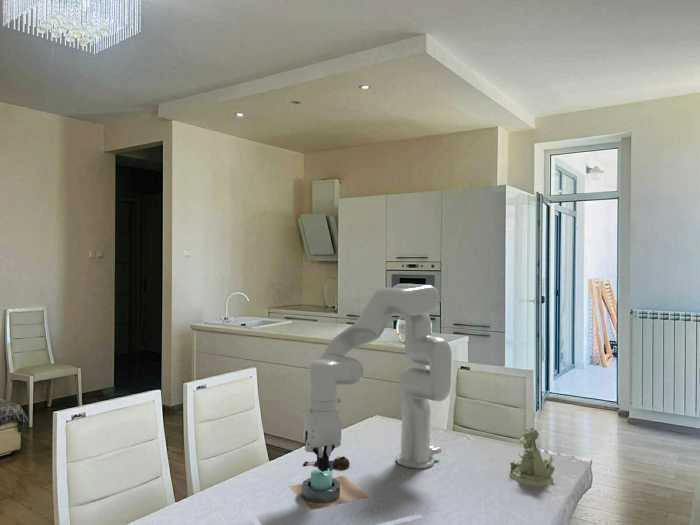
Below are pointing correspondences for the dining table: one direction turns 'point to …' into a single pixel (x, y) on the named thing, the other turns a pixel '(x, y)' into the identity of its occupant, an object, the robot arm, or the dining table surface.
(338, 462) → the toy
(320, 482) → the teal rounded tetrahedron
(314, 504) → the board
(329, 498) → the faceted gray ring
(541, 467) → the figurine
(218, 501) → the dining table surface
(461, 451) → the dining table surface
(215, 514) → the dining table surface
